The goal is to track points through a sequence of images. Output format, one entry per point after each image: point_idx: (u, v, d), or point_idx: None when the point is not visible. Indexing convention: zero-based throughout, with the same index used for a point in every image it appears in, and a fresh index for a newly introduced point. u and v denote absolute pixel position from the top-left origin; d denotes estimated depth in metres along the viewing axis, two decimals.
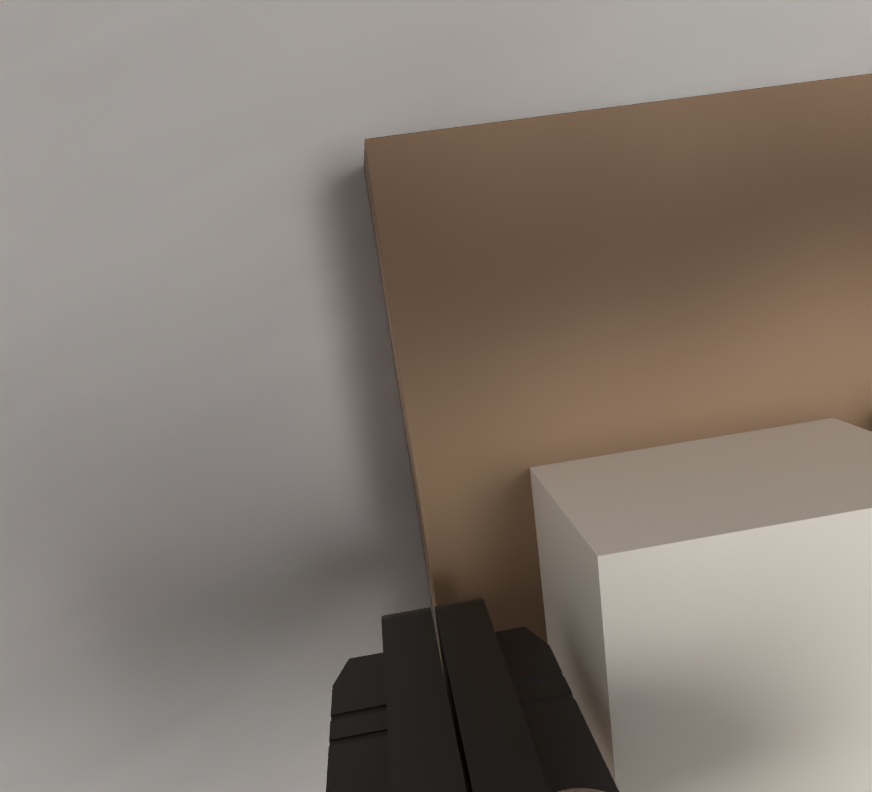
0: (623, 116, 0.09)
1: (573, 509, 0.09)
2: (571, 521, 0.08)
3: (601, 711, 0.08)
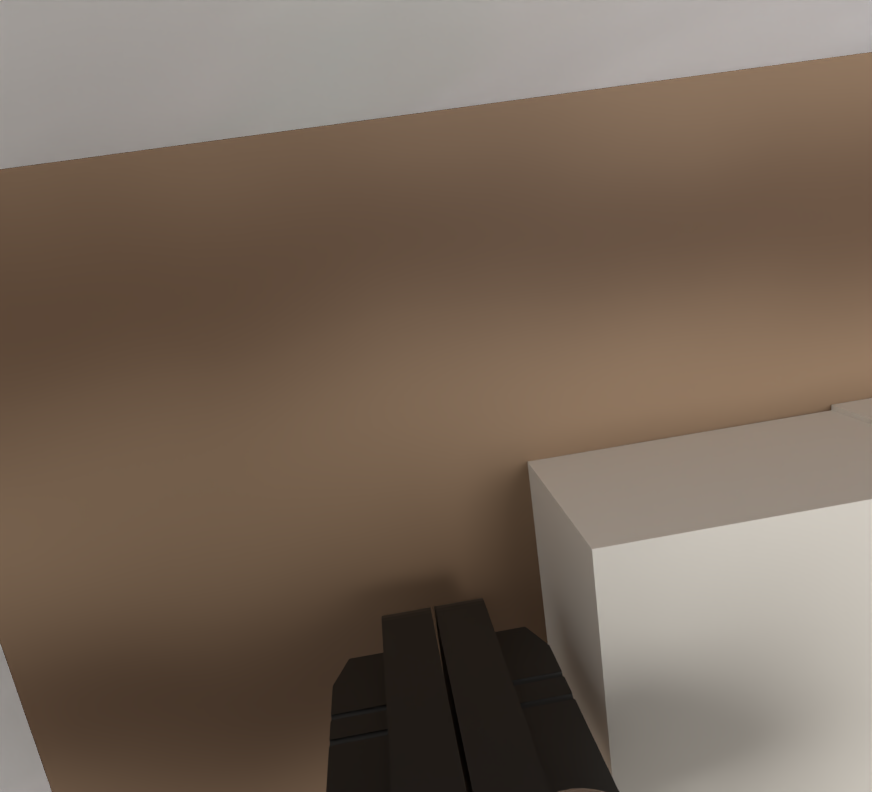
0: (135, 162, 0.09)
1: (569, 503, 0.09)
2: (567, 515, 0.08)
3: (598, 704, 0.08)
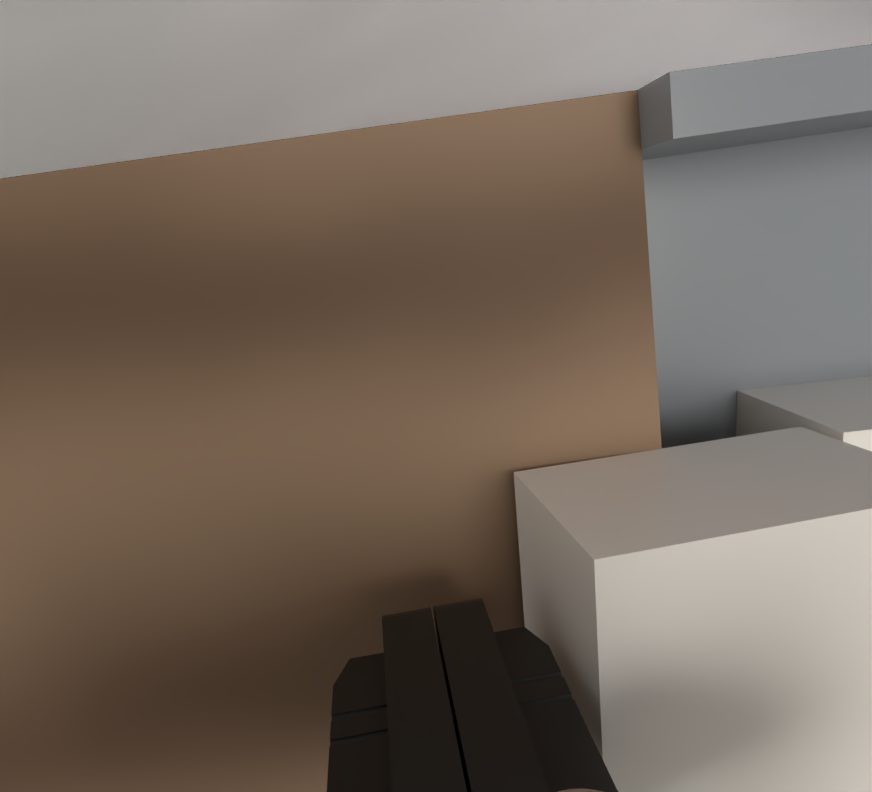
0: None
1: (563, 513, 0.09)
2: (563, 526, 0.08)
3: (590, 715, 0.08)
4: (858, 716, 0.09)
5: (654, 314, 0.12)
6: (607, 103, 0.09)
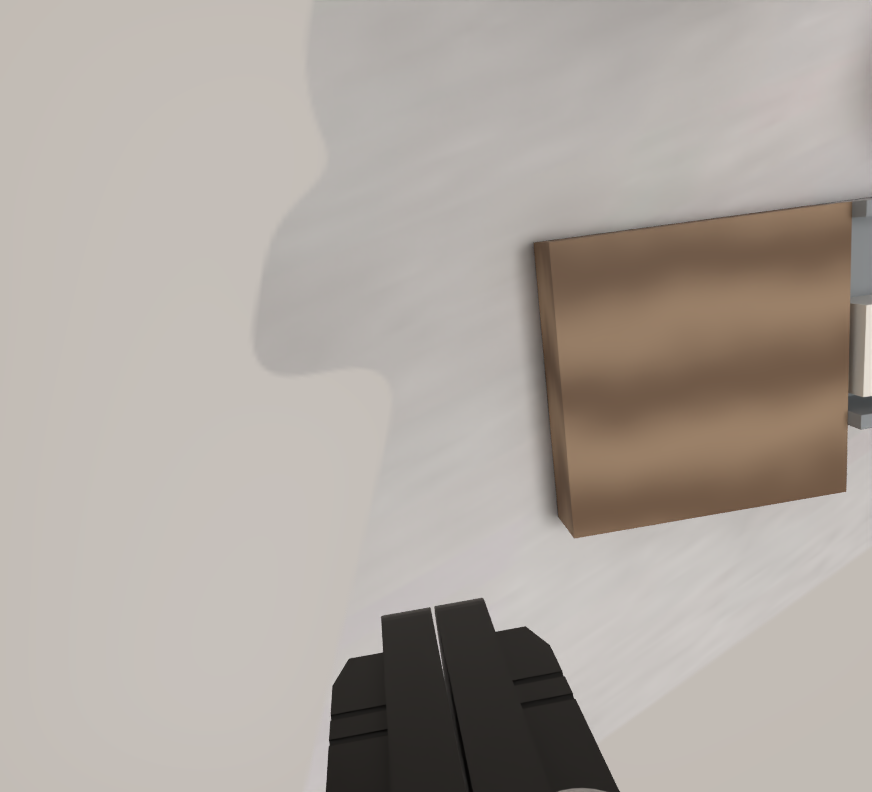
0: (619, 235, 0.33)
1: (851, 302, 0.36)
2: (853, 303, 0.35)
3: (860, 346, 0.35)
4: None
5: None
6: (843, 205, 0.34)
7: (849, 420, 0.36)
